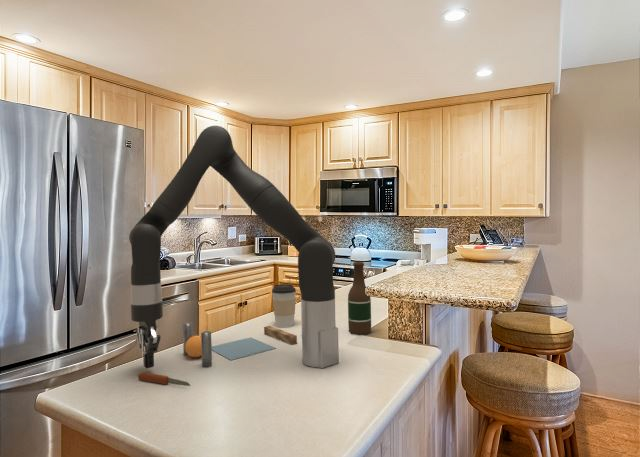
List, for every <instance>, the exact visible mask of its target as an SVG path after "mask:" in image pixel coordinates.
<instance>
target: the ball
mask: <svg viewBox="0 0 640 457" xmlns="http://www.w3.org/2000/svg"><path fill="white" fill-rule="evenodd" d="M185 349H186V352H187V354H188V355H187V356H189V357H191V358H199V357H202V348H201V335H192V337H191V338H189V339H188V341H187V342H186V345H185Z"/></svg>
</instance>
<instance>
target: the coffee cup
mask: <svg viewBox="0 0 640 457" xmlns="http://www.w3.org/2000/svg"><path fill="white" fill-rule="evenodd" d="M296 292H297V290H296V287H294V285H293V284H287V283H285V284H278V283H277V284H274V288H272V289H271V293H272V306H273V315H274V321H275V326H276V327H277V328H291V327H294V325H295V314H296V302H297V297H296Z"/></svg>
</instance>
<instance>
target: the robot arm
mask: <svg viewBox="0 0 640 457" xmlns="http://www.w3.org/2000/svg"><path fill="white" fill-rule="evenodd" d="M193 144H194V145H193V146H192V147H191V150H190V152H189V153H188V155H187V157H186V158H185V160H184V161H183V163H182V164H181V166H180V168H179V169H178V171H177V172H176V174H175V175H174V177H173V178H172V179H171V181H170V182H169V183H168V184H167V186H166V187H165V188H164V190H163V191H162V192H161V194H159V196H158V197H157V198H156V200H155V201H154V203H153V204H152V205H151V206H150V209H148V211H147V212H146V213H145V214H144V215H143V216H142V217H141V218H140V220H139V221H138V222H137V223H136V224H135V225H134V226H133V228H132V229H131V231H130V233H129V237H128V240H129V242H130V245H131V246H130V247H131V260H132V263H131V267H130V280H131V281H130V283H131V285H130V314H131V315H130V316H131V318H130V319H131V320H132V321H133V322H135V323H138V326H137V327H136V329H135V332H136V336H137V340H138V346H139V348H140V349H141V352H142V357H143V359H142V360H143V367H144V368H145V369H151V368H154V366H155V355H154V354H155V352H158V349H159V344H160V341H161V335H160V334H158V332H159V328H158V325H157V323H156V321H158V320H160V319H161V318H162V317H164V316H163V315H164V313H163V312H164V311H163V308H164V307H163V289H162V280H161V279H162V278H161V265H160V263H161V262H160V261H161V252H162V236H163V234H164V233H165V232H166V231H167V229H168V228H169V226H171V225H172V224H173V223H175V221H176V220H177V219H178V218H179V217H180V216H181V214H182V213H183V211H184V210H186V208H187V206H188V205H189V203H190V202H191V200H192V198H193V196H194V194H195V193H196V190H197V188H198V186H199V184H200V182H201V180H202V178H203V176H204V175H205V174H206V172H207V170H208V169H209V168H210V167H211V168H212V169H213V170H215V171H216V172H217V173H218V174H219V175H220V176H221V177H222V178H224V179H225V180H226V181H227V182H228V183H229V184H230V185H231V187H232V188H233V189H234V190H235V192H236V193H237V194H238V196H239V197H240V198H241V199H242V200H243V202H244V203H246V205H247V206H248V207H249V209H250V210H251V211H252V212H253V213H254V214H256V216H257V217H258V218H259V219H260V220H261V221H262V222H263V223H264V224H266V226H268V227H269V228H271V229H273V231H275V232H277V233H278V234H280V235H281V236H282V237H284V238H285V239H286V240H287V241H288V242H289V243H290V244H291V245H292V246H293V247H294V248H295V250H296V251H297V252H298V254H297V257H298V258H297V273H298V287H299V288H298V289H299V291H300V304H301V305H300V306H301V308H300V309H301V311H300V312H301V348H302V350H301V352H302V363H303V364H304V365H305V366H308V367H313V368H319V369H323V368H324V369H325V368H327V367H330V366H333V365H335V364H339V363H340V356H339V352H340V350H339V327H337V326H336V291H335V290H336V289H335V286H334V285H335V284H334V276H333V275H334V272H333V271H334V270H333V269H334V268H333V267H334V264H335V261H336V250H335V248H334V246H333V245H332V243H331V242H329V241H328V240H327V239H326V238H325V237H323V236H322V235H321V234H320V233H319V232H317V231H316V230H315V229H314V228H313V227H312V226H311V225H309V223H308V222H307V221H306V220H305V219H304V218H303V216H301V214H300V213H299V212H298V210H297V209H296V208H295V207H294V206H293V204H292V203H291V202H290V201H289V200H288V199H287V198H286V196H285V195H284V194H283V193H282V192H281V191H280V190H279V189H278V188H277V187H276V185H275V184H273V183H272V182H271V181H270V180H269V179H268V178H266V177H265V176H263V175H262V174H260V173H258V172H256V171H255V170H253V169H252V168H250V167H249V166H248V165H247V164H246V162H244V161H243V159H242V158H241V157H240V156H239V154H238V153H237V152H236V149H235V148H234V144H233V140H232V136H231V134H230V132H229V131H228V130H227V128H225V127H223V126H220V125H209V126H207V127H206V128H205V129H203V130H202V131H201V132H200V133H199V135H198V137H197V139H196V141H195V142H194V143H193Z"/></svg>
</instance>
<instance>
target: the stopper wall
mask: <svg viewBox="0 0 640 457" xmlns="http://www.w3.org/2000/svg"><path fill="white" fill-rule="evenodd" d="M263 332H264V333H263V334H264V335H266V336H267V337H270V338H273V339H275V338H276V340H278V341H280V340H281V342H283V343H286V344H289V345H291V346H292V345H296V344H298V335H297V334H294V333H290V332H288V331H285V330H282V329H279V328H278V327H277V328H276V327H273V326H271V325H267V326H263Z"/></svg>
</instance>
